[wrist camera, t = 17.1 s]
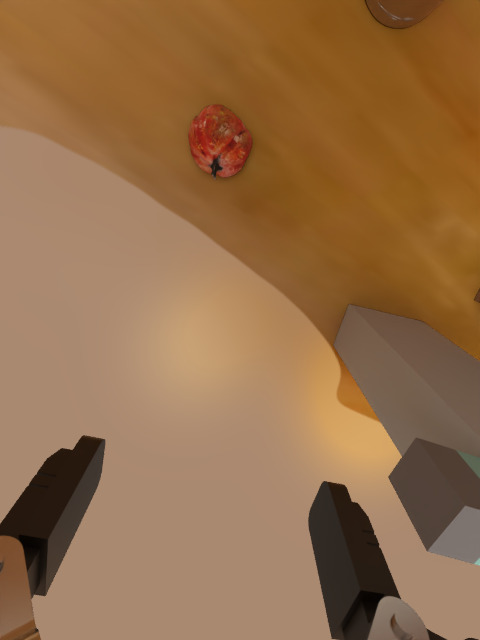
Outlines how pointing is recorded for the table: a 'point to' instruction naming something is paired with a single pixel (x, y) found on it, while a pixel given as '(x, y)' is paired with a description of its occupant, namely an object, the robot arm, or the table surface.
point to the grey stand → (413, 379)
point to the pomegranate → (219, 141)
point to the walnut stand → (477, 297)
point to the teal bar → (441, 498)
